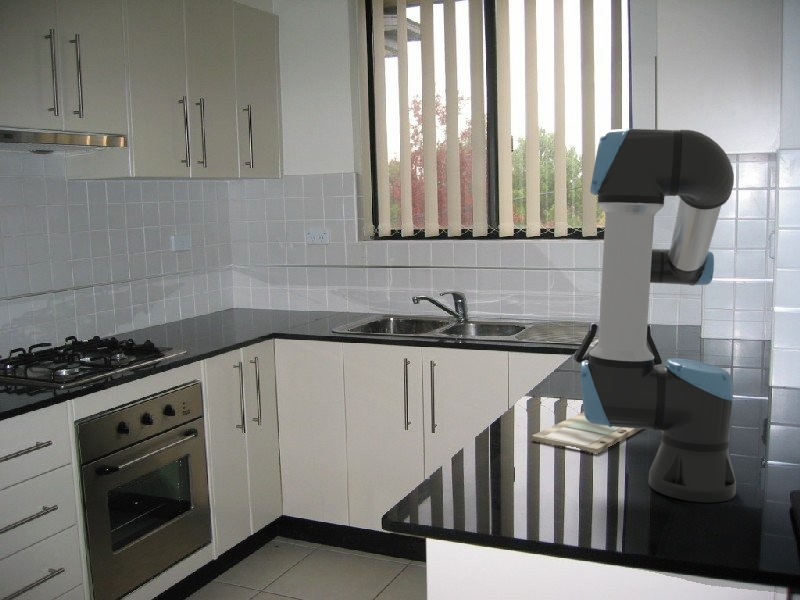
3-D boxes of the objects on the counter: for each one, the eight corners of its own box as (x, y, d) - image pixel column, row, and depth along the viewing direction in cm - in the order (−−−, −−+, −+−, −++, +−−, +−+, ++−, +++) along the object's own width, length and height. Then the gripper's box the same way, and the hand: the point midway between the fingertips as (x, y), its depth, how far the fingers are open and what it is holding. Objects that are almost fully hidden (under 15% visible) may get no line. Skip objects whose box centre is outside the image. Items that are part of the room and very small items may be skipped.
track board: (596, 454, 173) (597, 448, 173) (531, 440, 182) (531, 435, 182) (655, 421, 201) (655, 416, 201) (596, 410, 210) (596, 405, 210)
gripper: (668, 303, 200) (663, 390, 203) (564, 300, 200) (559, 387, 202) (679, 306, 193) (673, 397, 195) (571, 303, 192) (566, 394, 195)
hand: (615, 392), depth 199 cm, fingers open, 13 cm apart
